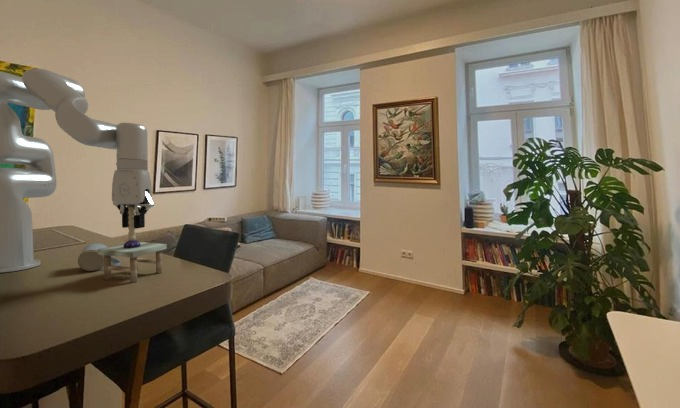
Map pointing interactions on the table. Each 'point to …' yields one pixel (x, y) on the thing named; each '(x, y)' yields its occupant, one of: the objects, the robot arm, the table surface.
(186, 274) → the table surface
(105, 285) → the table surface
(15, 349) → the table surface
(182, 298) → the table surface
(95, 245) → the ceramic mug
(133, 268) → the footstool
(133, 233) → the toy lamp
